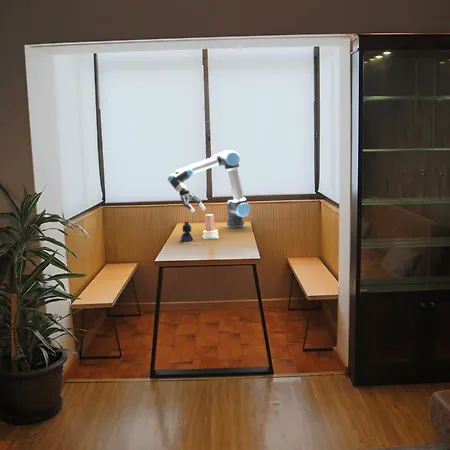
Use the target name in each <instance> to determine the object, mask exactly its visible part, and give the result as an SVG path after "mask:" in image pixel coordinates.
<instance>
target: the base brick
mask: <svg viewBox="0 0 450 450" xmlns="http://www.w3.org/2000/svg"><path fill="white" fill-rule="evenodd" d="M215 237H219V231H218V229H215V230H214V231H206V229H205V230H203V231H202V238H203V239H204V238H212V239H216V238H215Z"/></svg>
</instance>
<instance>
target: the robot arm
mask: <svg viewBox="0 0 450 450" xmlns="http://www.w3.org/2000/svg"><path fill="white" fill-rule="evenodd" d="M240 158H241V157H240V154H239V153H238V152H236V151H234V150H223V151H222V152H218V153H217V154H214V155H213V156H211V157H210V158H206V159H204V160H202V161H199V162H196V163H192V164H190V165H188V166H185V167H182V168H178V169H176V170H175V173H171V174H169V175H168V177H167V181H168V182H169V183H170V185H171V186H172V187H173V189H175V191H176V192H177V193H178V194H179V196H180V200H181V202H182V205H183V207H185V208H188V210H189V211H190V212H191V213H192V214H194V212H196V209H194V207H193V206H192V205H191V204H190V201H192V202H195V203H196V204H197V205H198V206H199V207H200V209H201V210H202V211H205V210H206V209H207V208H206V207H205V205H204V204H203V203H202V202H203V201H202V199H200V198H199V196H196V195H195V194H194V193H190V190H189V188H187V186H186V185H185V184H184V182H185V181H187V180H188V179H190V178H191V177H193V176H194V175H196V174H198V173H201V172H203V171H206V170H209V169H212V168H215V167H220V166H224V169H225V170H226V171H227V175H228V179H229V184H230V189H231V194H232V198H233V199H228V200H227V216H228V217H227V220H226V221H227V222H226V228H228V229H240V228H245V222H244V220H243V217H244V218H245V217H247V216H249V214H250V211H251V206H250V205H249V203H248V201H247V198H246V197H244V191H243V187H242V181H241V177H240V172H239V168H240V164H239V163H240V161H241V160H240Z"/></svg>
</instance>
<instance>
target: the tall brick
mask: <svg viewBox="0 0 450 450" xmlns="http://www.w3.org/2000/svg"><path fill="white" fill-rule="evenodd" d="M204 222H205V223H204V226H205V230H206V231H214V230H216V227H215V225H216V224H215V214H214V213H213V214H212V213H211V214H209V213H208V214H205V215H204Z"/></svg>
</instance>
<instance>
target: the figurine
mask: <svg viewBox="0 0 450 450" xmlns="http://www.w3.org/2000/svg"><path fill="white" fill-rule="evenodd" d="M183 223H184V224H183V225H182V231H183V233H182V235H181V236H177V238H180V240H179V243H181V242H182V241H185V242H186V241H187V242H189V241H191V240H192V241H194V239H193V237H192V235H191V232H192V226H191V224H190V222H189V221H185V222H183Z"/></svg>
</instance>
